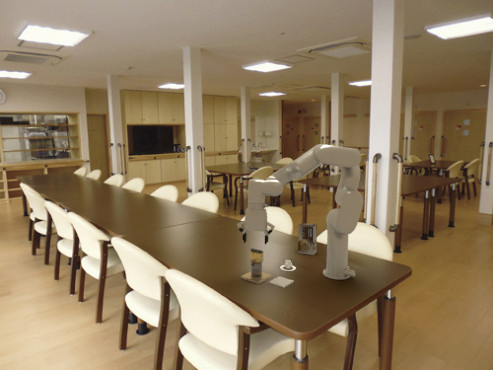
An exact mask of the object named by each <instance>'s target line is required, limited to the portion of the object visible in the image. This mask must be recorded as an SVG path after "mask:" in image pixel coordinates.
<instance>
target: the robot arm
mask: <svg viewBox="0 0 493 370" xmlns="http://www.w3.org/2000/svg"><path fill="white" fill-rule="evenodd" d="M361 161H362V155H361V152H360V150H358V149H356V148H354V147H345V146H337V145H331V144H326V143H325V144H323V143H320V144H319V143H318V144H316V145H314V146H313V147H312V148H309V150H307V151H306V152H304V153H303V154H302V155H300V156H299V157H297V158H296V159H294V160H292V161H291V162H289V163H288V164H286V165H285V166H283V167H281V168H280V169H278V170H276V171H275V172H274V173H272V174H271V175H270V176H268V177H266V179H265V180H264V179H263V178H250V179H249V180H248V184H247V188H248V189H247V190H248V192H247V208H246V209H245V214H244V215H245V216H244V220H242V221H240V222H238V223H237V224H236V226H237V228H238V230H239V231H240V233H241V234H242V241H243V243H244V244H245V243H246V242H247V235H248V234H247V231H249V232H262V233H264V245H267V243H269V235H271V233H273V231H274V229H275V228H276V226H275V225H274V224H272V223H271V222H269V221H268V213H267V211H268V210H267V208H268V207H269V205H268V204H267V203H266V196H269V197H278V196H280V195H281V194H282V193H283V191H284V186H285V185H286V184H288V183H289V182H291V181H294V180H296V179H301V178H304V177H306V176H308V175H309V174H311V172H313V171H314V170H316V169H318V167H320V166H322V165H327V166H328V165H329V166H332V167H340V168H339V169H340V179H339V182H338V186H337V189H336V192H335V195H334V200H335V203H336V204H337V205H338V206H339V208H332V209H331V210H330V211H329V212H328V213H327V215H326V231H327V234H326V235H327V236H326V238H327V239H326V264H325V265H326V268H324V269H323V271H322V275H323V276H324V277H326V278H328V279H331V280H337V281H338V280H341V281H342V280H347V279H349V278H350V277H355V276H356V271H355V270H353V269H351V268H350V266H349V265H348V260H349V259H348V256H349V252H348V251H349V235H350V234H352V233H353V232H354V231H355V229H357V226H358V224H359V223H358V222H359V220H360V218H361V216H360V215H361V214H362V210H363V205H364V198H363V195H362V193H361V192H360V191H358V188H359V184H360V180H361V167H360V164H361ZM242 225H243V226H244V227H242ZM268 227H269V228H270V229H269V230H268Z"/></svg>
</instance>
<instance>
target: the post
mask: <svg viewBox="0 0 493 370" xmlns="http://www.w3.org/2000/svg"><path fill="white" fill-rule="evenodd" d="M240 278H241V279H243V280H245V281H248V282H251V283H254V284H256V285H259V284H261V283H264V282H265V281H267V280H269V279H271V278H272V274H270V273H267V272H263V262H260V263H254V262H251V261H250V271H249V272H246V273H245V274H242V275H241V277H240Z"/></svg>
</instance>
